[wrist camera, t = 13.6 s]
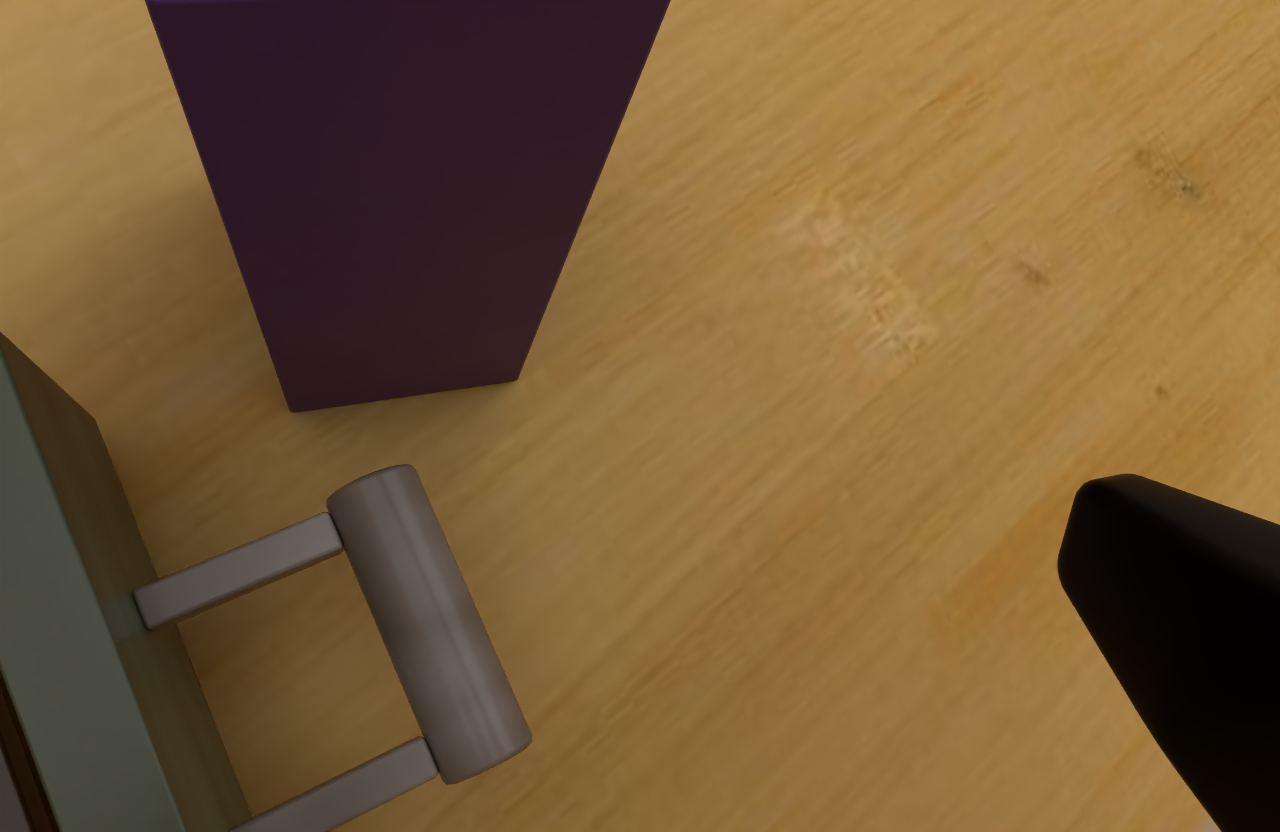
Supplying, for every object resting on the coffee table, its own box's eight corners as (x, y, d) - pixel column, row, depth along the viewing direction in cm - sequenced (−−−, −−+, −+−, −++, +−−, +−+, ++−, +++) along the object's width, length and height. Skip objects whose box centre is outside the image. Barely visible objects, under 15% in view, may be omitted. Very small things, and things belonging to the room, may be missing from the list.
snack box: (518, 381, 20) (682, -21, 9) (289, 414, 19) (143, 2, 8) (472, 145, 21) (567, -486, 10) (253, 163, 20) (76, -528, 9)
